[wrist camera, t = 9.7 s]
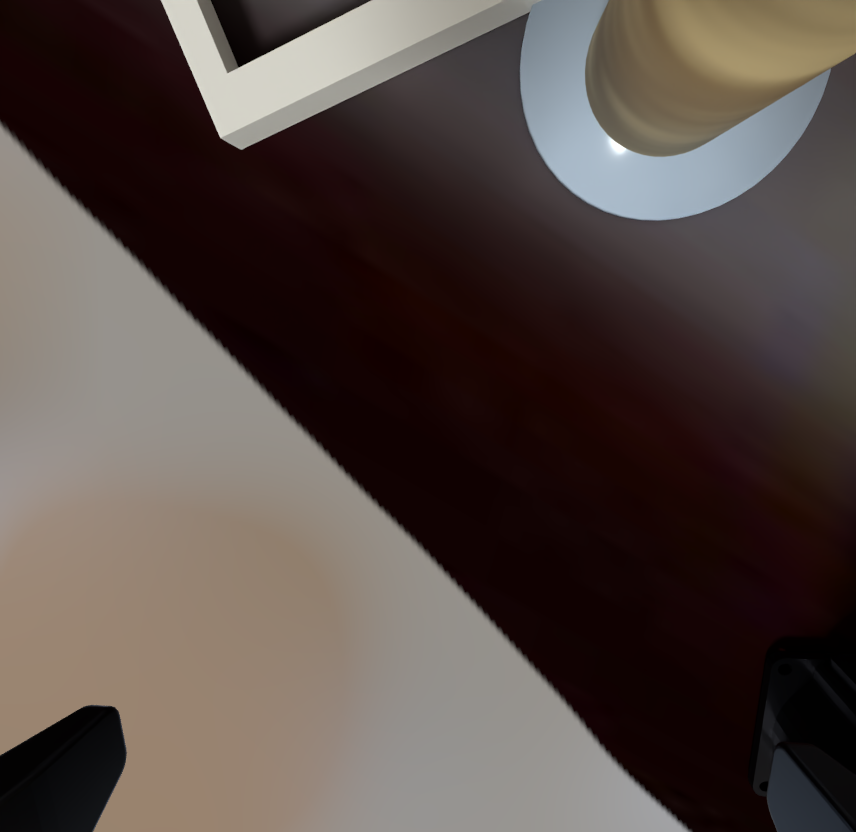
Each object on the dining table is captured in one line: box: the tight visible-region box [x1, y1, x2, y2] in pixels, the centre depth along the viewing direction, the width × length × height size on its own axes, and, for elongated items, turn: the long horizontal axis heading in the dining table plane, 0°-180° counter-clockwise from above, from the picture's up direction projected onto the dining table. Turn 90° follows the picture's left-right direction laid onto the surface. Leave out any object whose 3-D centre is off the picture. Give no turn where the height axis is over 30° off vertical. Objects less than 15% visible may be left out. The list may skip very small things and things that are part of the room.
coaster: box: [519, 0, 831, 221], centre depth 16 cm, size 9×9×1 cm
